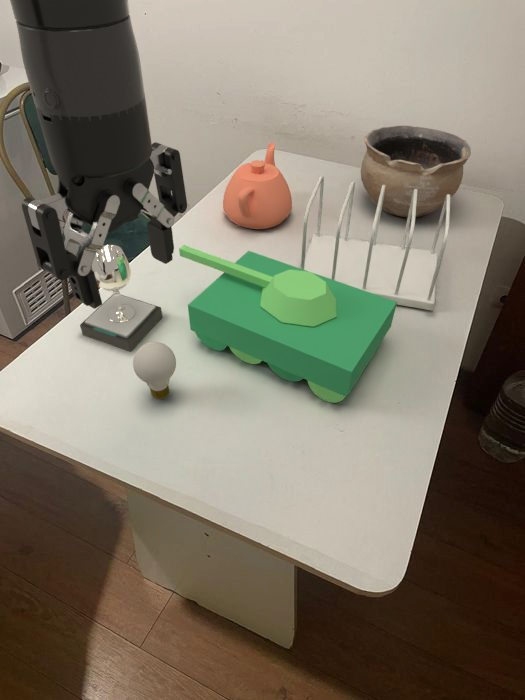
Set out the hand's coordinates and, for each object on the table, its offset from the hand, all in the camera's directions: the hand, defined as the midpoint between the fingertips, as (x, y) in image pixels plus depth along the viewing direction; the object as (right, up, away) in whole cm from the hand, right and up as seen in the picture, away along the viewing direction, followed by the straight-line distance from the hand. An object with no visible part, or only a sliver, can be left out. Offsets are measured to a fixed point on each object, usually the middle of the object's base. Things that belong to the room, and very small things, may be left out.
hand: (128, 280), depth 47 cm
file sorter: (+33, +8, +53) cm, 63 cm away
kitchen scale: (-11, -2, +41) cm, 42 cm away
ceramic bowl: (+45, +27, +72) cm, 89 cm away
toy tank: (+14, -4, +40) cm, 42 cm away
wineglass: (-11, -1, +39) cm, 40 cm away
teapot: (+11, +24, +68) cm, 73 cm away
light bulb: (-3, -13, +30) cm, 33 cm away
